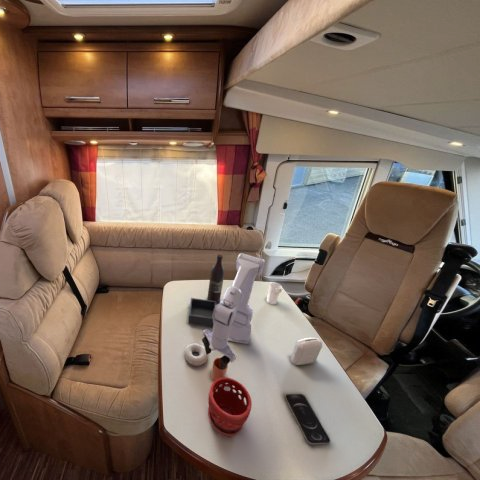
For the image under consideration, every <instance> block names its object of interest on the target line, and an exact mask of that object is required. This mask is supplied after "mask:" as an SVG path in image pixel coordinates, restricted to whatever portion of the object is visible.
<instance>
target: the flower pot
mask: <svg viewBox="0 0 480 480" xmlns="http://www.w3.org/2000/svg"><path fill="white" fill-rule="evenodd" d="M227 387H228V388H229V389H228V390H227V389H225V388H227ZM207 401H208V409H207V416H208V420H209V422H210V424H211V425H212V427H213V428H214V429H215V430H216V432H218V433H219V434H221V435H224V436H227V437H233V436H236V435H238V434H239V433H240V432H241V431H242V430H243V428H244V425H245V424H246V422H247V420H248V418H249V416H250V414H251V411H252V406H253V405H252V404H253V403H252V398H251V394H250V393H249V391H248V390H247V388H246V387H245V386H244V385H243V384H242V383H241V382H239V381H238V380H236V379H234V378H231V377H227V376H226V377H222V378H218V379H216V380H215V381H213V382H212V383H211V385H210V388H209V392H208V397H207Z"/></svg>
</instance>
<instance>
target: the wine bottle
mask: <svg viewBox="0 0 480 480" xmlns="http://www.w3.org/2000/svg"><path fill="white" fill-rule="evenodd" d="M223 259H224V256H223V254H217V255H216V262H215V264H214V265H213V266H212V268H211V269H210V275H209V283H208V290H207V299H206V300H211V301H216V305H217V304H220V302H221V296H222V290H223V285H224V279H225V269H224V267H223V264H222V263H223Z"/></svg>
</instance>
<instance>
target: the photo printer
mask: <svg viewBox="0 0 480 480" xmlns="http://www.w3.org/2000/svg"><path fill="white" fill-rule="evenodd" d="M322 348H323V342H322V340H320V338H317V337H305V338H301V339H299V340H297V341H296V342H295V344H294V346H293V350H292V352H291V355H290V361H291V363H293V365H296V366H302V365H308V364H313V363H315V362H316V361H317V359H318V357H319V356H320V355H319V354H320V353H321V349H322Z"/></svg>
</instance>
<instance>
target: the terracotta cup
mask: <svg viewBox="0 0 480 480" xmlns="http://www.w3.org/2000/svg"><path fill="white" fill-rule="evenodd" d="M220 358H221V357H216V358H215V359H213V361H212V368H211V374H210V378H211V380H212V381H213V382H214V381H215V380H216V379H218V378H222V377H227V372H228V368H229V367H228V366H229V363H228V364H227V366H226V368H225V369H223V370H221V368H220V367H221V360H220Z"/></svg>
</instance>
